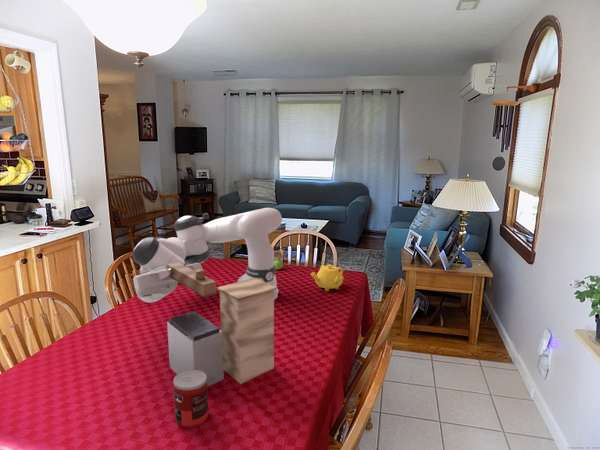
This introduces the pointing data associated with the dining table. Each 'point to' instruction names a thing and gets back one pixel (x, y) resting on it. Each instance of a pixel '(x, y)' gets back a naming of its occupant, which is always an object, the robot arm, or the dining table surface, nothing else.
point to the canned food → (191, 398)
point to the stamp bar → (193, 279)
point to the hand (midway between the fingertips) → (178, 269)
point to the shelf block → (247, 328)
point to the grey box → (195, 346)
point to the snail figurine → (278, 259)
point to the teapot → (328, 277)
